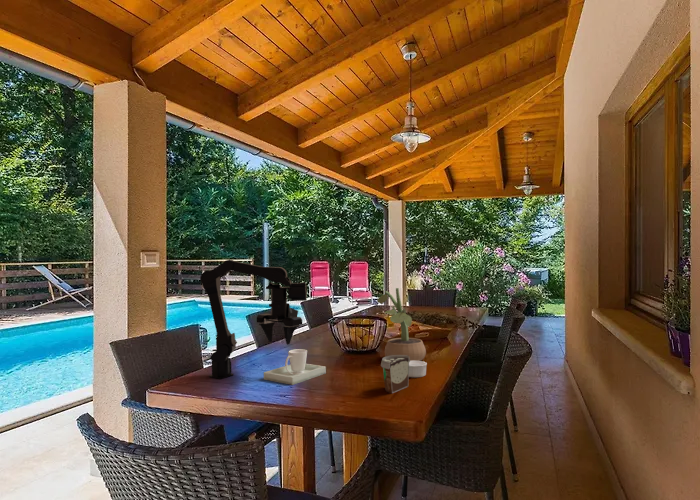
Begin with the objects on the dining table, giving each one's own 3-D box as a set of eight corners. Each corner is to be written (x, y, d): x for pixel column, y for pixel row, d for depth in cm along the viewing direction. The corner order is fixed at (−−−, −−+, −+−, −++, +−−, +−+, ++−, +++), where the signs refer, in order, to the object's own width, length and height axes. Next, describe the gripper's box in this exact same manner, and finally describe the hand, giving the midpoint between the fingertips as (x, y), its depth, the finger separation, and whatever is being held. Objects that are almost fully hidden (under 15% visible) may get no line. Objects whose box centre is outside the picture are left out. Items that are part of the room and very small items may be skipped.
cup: (311, 372, 175) (311, 350, 175) (293, 378, 167) (293, 355, 167) (297, 369, 179) (296, 348, 180) (278, 375, 171) (278, 353, 171)
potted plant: (391, 353, 208) (389, 285, 208) (431, 356, 200) (429, 285, 200) (370, 365, 188) (368, 289, 188) (413, 368, 180) (411, 289, 180)
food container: (395, 382, 162) (394, 353, 162) (410, 385, 158) (409, 355, 158) (373, 391, 152) (372, 360, 152) (389, 394, 148) (388, 362, 148)
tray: (292, 385, 162) (292, 377, 162) (263, 379, 170) (263, 372, 170) (325, 373, 176) (325, 366, 176) (297, 368, 184) (297, 362, 184)
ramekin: (400, 372, 176) (400, 360, 176) (424, 371, 176) (423, 359, 176) (404, 378, 167) (404, 366, 167) (429, 377, 167) (429, 365, 167)
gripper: (312, 300, 178) (312, 342, 178) (276, 298, 189) (276, 337, 189) (291, 303, 169) (291, 347, 169) (255, 300, 180) (255, 341, 180)
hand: (279, 343), depth 177 cm, fingers open, 9 cm apart
